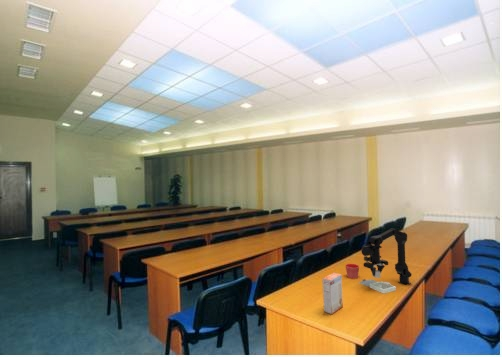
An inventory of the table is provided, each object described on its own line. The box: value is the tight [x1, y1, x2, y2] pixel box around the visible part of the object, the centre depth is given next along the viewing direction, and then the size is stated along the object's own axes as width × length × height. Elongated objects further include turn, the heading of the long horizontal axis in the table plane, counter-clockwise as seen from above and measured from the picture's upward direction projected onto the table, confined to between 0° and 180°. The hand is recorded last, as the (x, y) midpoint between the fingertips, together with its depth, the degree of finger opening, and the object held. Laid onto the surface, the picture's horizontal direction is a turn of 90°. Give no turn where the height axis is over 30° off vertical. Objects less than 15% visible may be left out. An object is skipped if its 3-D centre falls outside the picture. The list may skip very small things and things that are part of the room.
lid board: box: [358, 278, 378, 287], centre depth 209 cm, size 14×11×1 cm
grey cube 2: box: [371, 269, 382, 279], centre depth 198 cm, size 4×4×4 cm
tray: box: [369, 281, 397, 294], centre depth 196 cm, size 12×12×3 cm
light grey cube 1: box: [382, 281, 391, 289], centre depth 195 cm, size 4×4×4 cm
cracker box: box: [321, 272, 344, 315], centre depth 168 cm, size 14×6×21 cm, turn 134°
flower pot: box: [345, 263, 360, 279], centre depth 222 cm, size 11×11×10 cm
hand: (376, 275), depth 198 cm, fingers closed on grey cube 2, 5 cm apart
